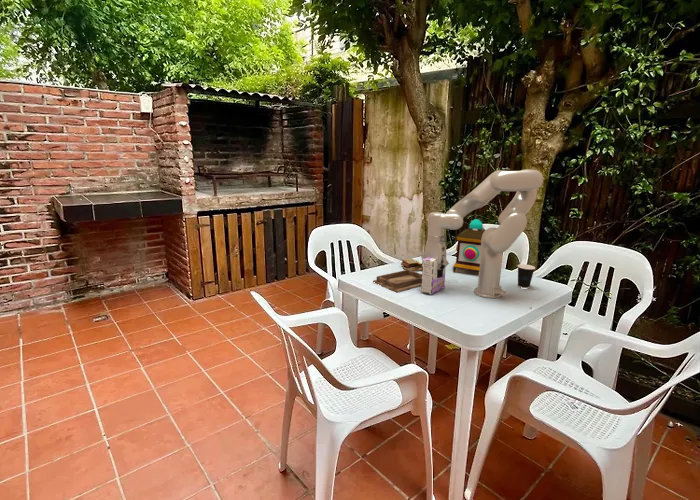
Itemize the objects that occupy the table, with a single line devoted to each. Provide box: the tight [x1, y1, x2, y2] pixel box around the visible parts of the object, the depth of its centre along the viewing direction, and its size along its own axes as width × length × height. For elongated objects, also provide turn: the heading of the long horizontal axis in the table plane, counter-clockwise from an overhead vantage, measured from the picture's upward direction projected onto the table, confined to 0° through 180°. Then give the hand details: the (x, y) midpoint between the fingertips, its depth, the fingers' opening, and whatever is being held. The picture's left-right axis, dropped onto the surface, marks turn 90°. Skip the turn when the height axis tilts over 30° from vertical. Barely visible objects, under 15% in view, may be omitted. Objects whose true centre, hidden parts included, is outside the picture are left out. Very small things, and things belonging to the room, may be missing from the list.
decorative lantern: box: [452, 218, 486, 273], centre depth 208 cm, size 20×20×30 cm
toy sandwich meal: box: [400, 257, 422, 272], centre depth 214 cm, size 12×14×5 cm
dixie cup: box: [517, 263, 536, 288], centre depth 184 cm, size 8×8×11 cm
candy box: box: [420, 257, 447, 295], centre depth 177 cm, size 14×6×16 cm, turn 140°
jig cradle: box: [372, 269, 422, 294], centre depth 188 cm, size 18×24×4 cm
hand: (433, 275), depth 177 cm, fingers closed on candy box, 6 cm apart
